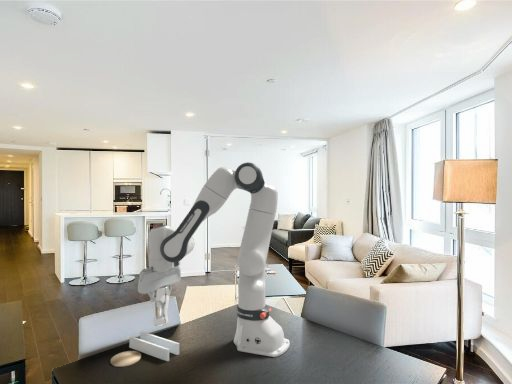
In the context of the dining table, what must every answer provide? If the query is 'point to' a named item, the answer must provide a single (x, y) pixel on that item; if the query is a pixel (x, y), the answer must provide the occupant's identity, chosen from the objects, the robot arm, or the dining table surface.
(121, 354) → the cork coaster
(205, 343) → the dining table surface
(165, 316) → the beer glass
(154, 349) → the low plastic fence
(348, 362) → the dining table surface
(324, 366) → the dining table surface
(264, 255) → the robot arm
